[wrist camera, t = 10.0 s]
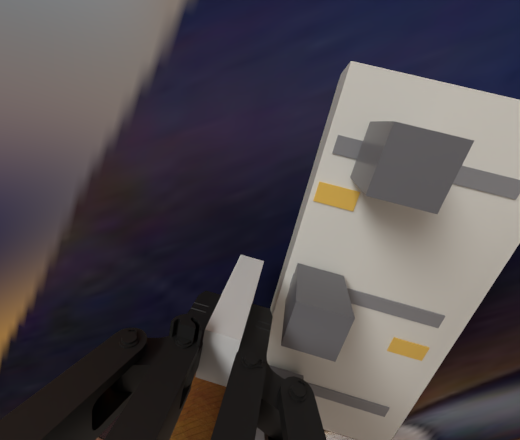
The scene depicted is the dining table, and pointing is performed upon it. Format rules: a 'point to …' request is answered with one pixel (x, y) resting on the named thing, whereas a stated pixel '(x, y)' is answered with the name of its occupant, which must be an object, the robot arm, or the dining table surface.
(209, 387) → the disposable coffee cup
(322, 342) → the tab
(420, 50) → the dining table surface
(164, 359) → the robot arm
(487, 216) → the switch bank
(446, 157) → the tab
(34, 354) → the dining table surface
